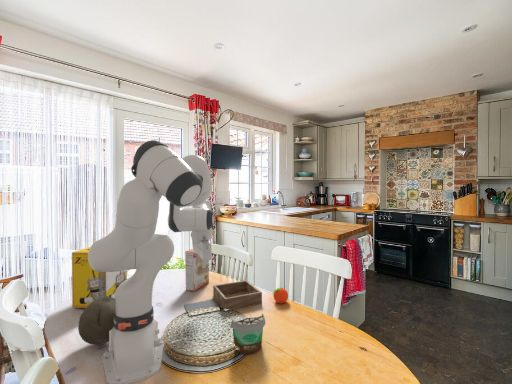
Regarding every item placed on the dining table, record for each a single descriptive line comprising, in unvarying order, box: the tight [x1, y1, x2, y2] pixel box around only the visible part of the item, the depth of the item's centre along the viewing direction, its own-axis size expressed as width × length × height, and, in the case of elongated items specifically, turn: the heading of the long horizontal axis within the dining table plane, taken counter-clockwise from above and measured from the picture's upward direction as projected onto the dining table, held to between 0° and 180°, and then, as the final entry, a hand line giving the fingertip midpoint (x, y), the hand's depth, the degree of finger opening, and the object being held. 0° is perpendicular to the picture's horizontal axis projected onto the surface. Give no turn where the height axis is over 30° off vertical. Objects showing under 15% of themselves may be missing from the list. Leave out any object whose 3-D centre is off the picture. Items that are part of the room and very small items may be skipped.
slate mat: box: [183, 298, 221, 312], centre depth 119 cm, size 12×14×1 cm
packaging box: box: [71, 246, 128, 309], centre depth 127 cm, size 16×16×25 cm
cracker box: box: [184, 248, 210, 292], centre depth 145 cm, size 14×6×21 cm, turn 156°
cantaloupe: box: [77, 296, 116, 346], centre depth 93 cm, size 14×14×15 cm
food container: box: [230, 313, 266, 355], centre depth 88 cm, size 12×6×10 cm, turn 114°
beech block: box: [196, 253, 208, 276], centre depth 119 cm, size 4×4×9 cm
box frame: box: [212, 279, 263, 311], centre depth 128 cm, size 18×18×6 cm
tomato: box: [272, 287, 289, 304], centre depth 124 cm, size 8×7×7 cm
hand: (201, 265), depth 119 cm, fingers closed on beech block, 4 cm apart
